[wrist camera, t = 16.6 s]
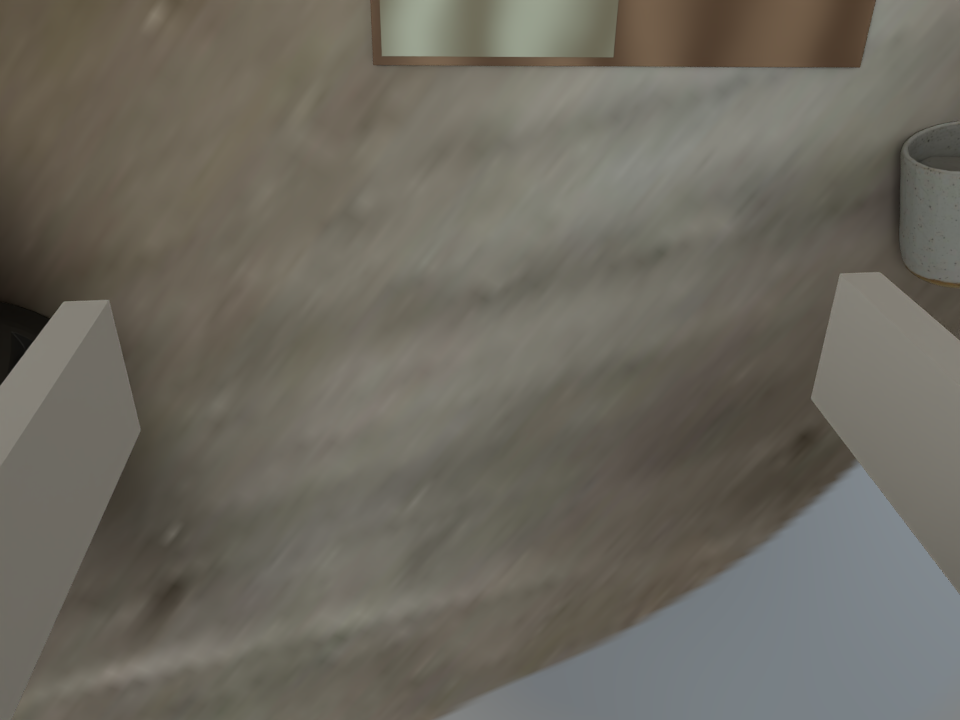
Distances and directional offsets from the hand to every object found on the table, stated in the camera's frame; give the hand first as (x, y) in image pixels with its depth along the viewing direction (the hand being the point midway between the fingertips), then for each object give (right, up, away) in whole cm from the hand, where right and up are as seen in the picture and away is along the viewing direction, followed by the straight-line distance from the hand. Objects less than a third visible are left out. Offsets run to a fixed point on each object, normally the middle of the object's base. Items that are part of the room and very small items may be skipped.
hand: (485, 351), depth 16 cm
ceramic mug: (+30, +12, +38) cm, 50 cm away
